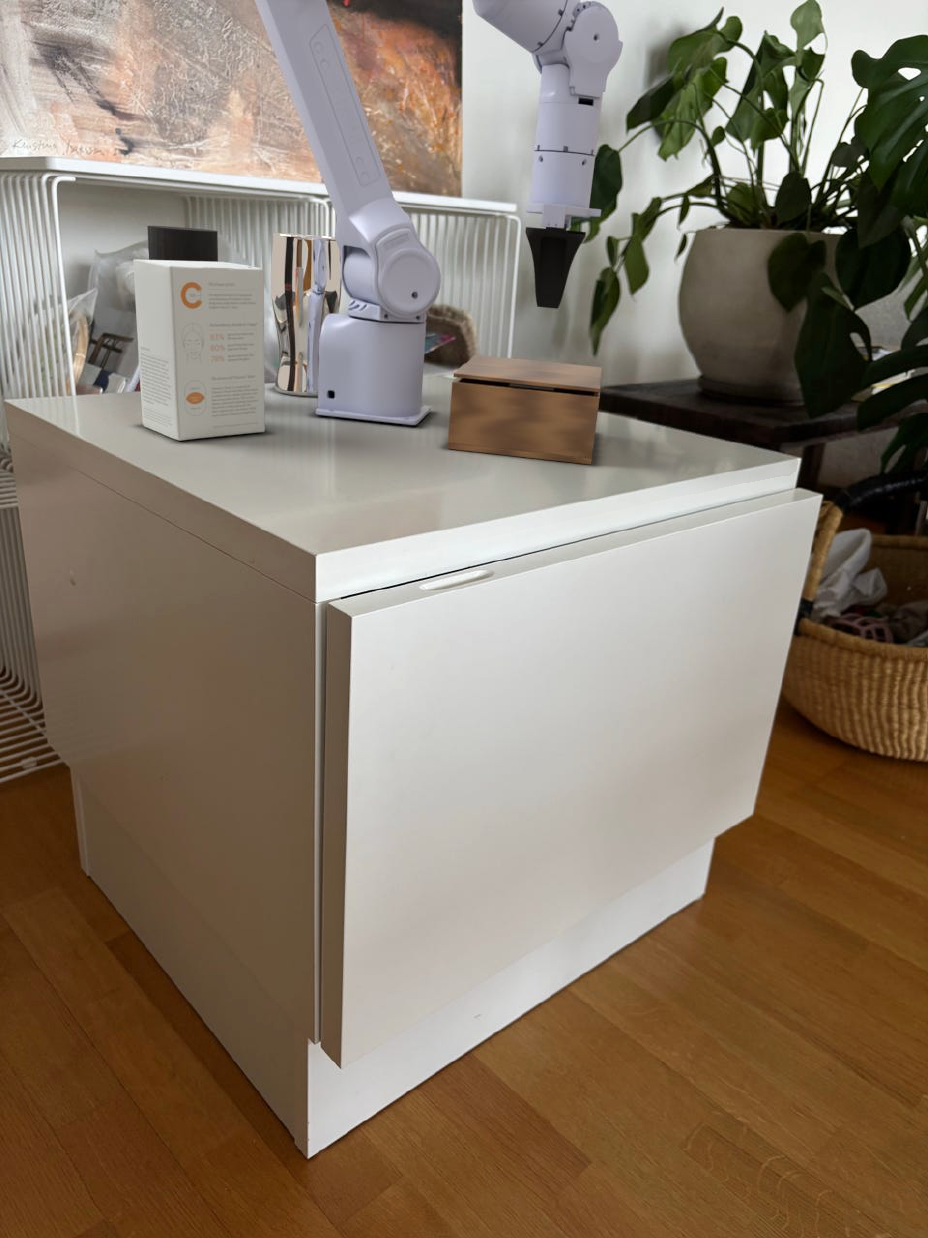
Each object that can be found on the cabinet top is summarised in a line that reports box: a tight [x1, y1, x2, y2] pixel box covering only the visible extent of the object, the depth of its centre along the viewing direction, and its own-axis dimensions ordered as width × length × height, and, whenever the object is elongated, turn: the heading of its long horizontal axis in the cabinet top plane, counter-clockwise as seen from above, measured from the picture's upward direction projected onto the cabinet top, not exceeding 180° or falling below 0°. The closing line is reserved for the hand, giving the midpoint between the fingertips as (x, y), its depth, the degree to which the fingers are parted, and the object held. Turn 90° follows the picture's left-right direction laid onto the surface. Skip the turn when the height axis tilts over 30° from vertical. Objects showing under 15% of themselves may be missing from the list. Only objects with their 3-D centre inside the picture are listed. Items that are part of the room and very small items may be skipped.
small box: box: [132, 258, 266, 442], centre depth 77 cm, size 8×6×13 cm
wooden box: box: [447, 362, 602, 465], centre depth 85 cm, size 12×13×6 cm
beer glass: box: [270, 232, 343, 397], centre depth 97 cm, size 7×7×15 cm
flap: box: [466, 354, 603, 378], centre depth 87 cm, size 12×6×1 cm, turn 82°
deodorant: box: [146, 225, 219, 262], centre depth 88 cm, size 6×6×15 cm
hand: (547, 307), depth 95 cm, fingers closed
